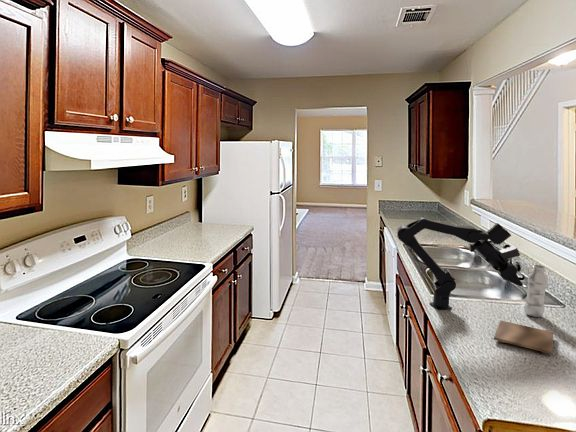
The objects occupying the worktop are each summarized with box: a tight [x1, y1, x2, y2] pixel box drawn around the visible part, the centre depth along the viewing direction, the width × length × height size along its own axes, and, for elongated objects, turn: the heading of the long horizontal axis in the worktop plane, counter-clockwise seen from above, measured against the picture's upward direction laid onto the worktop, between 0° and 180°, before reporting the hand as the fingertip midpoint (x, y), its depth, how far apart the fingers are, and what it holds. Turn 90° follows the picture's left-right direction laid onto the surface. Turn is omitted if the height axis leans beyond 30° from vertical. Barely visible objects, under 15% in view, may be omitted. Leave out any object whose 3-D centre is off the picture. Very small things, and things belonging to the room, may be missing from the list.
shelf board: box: [493, 320, 554, 355], centre depth 128 cm, size 16×16×2 cm
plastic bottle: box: [523, 264, 549, 318], centre depth 146 cm, size 6×7×20 cm
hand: (517, 281), depth 147 cm, fingers open, 9 cm apart
